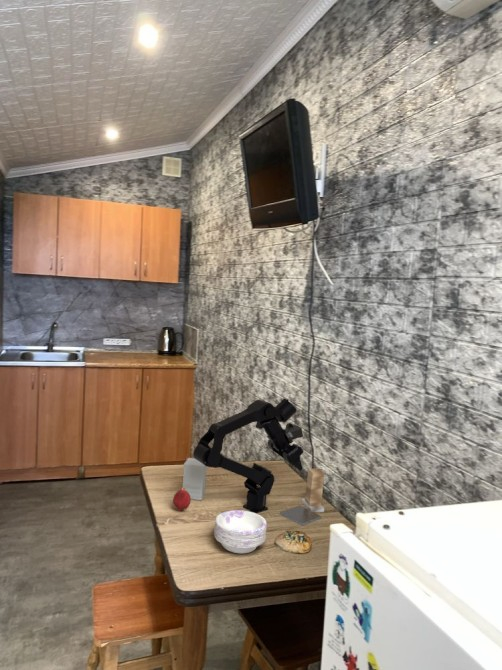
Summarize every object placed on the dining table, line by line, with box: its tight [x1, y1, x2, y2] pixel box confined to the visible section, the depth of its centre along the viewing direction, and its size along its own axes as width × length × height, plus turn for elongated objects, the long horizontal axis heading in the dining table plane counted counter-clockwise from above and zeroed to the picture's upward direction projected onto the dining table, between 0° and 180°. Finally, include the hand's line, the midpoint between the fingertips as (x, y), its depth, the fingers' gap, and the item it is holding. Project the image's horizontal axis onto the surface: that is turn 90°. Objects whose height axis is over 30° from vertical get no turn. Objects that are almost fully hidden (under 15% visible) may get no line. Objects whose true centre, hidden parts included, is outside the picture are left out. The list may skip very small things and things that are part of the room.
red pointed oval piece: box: [172, 486, 192, 512], centre depth 166 cm, size 6×6×8 cm
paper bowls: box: [213, 509, 268, 554], centre depth 147 cm, size 15×15×8 cm
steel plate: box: [279, 505, 322, 527], centre depth 170 cm, size 10×10×1 cm
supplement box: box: [181, 457, 208, 501], centre depth 179 cm, size 7×7×13 cm
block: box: [301, 468, 325, 513], centre depth 179 cm, size 5×9×13 cm, turn 15°
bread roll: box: [274, 529, 313, 555], centre depth 150 cm, size 11×11×5 cm
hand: (295, 465), depth 177 cm, fingers open, 9 cm apart
